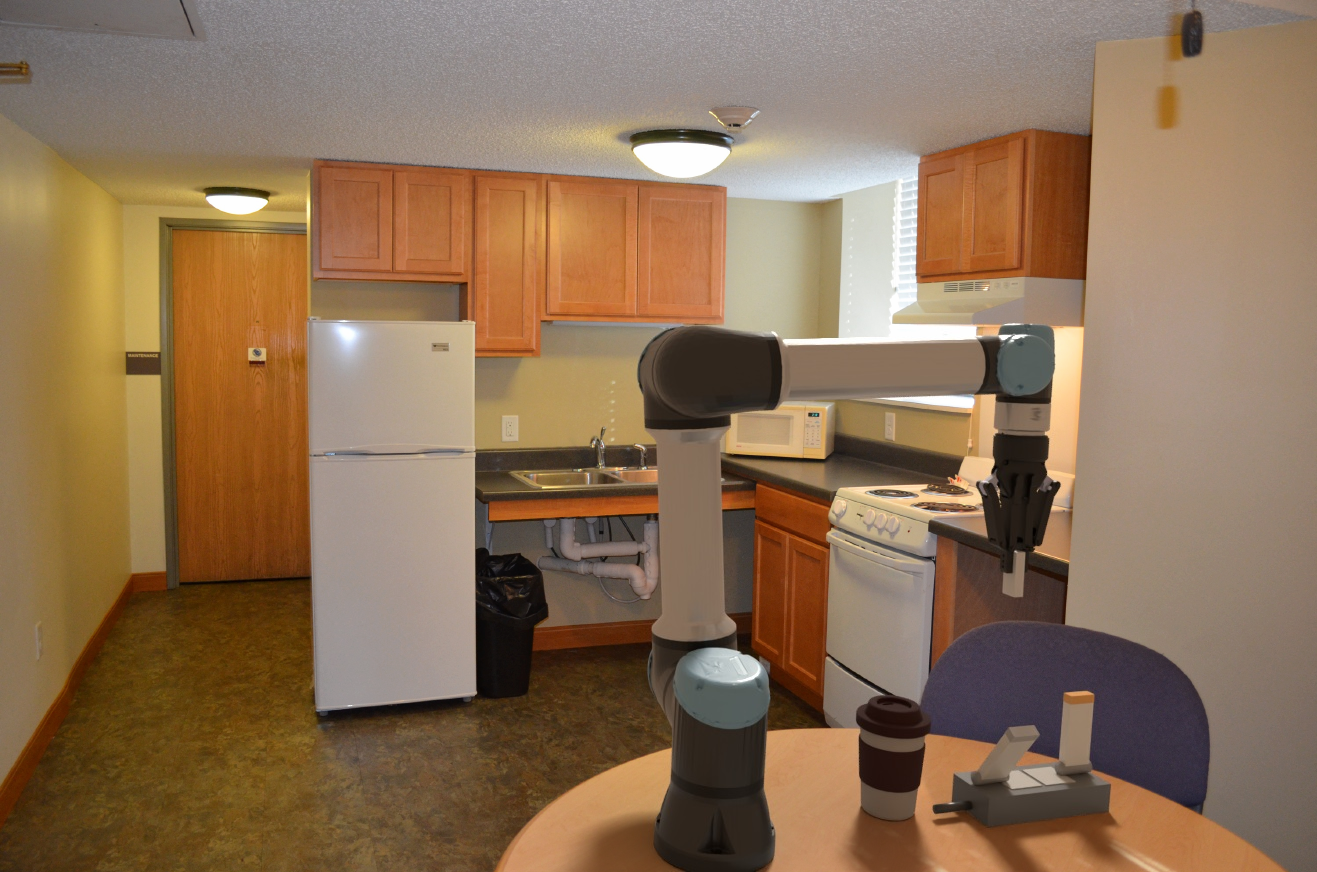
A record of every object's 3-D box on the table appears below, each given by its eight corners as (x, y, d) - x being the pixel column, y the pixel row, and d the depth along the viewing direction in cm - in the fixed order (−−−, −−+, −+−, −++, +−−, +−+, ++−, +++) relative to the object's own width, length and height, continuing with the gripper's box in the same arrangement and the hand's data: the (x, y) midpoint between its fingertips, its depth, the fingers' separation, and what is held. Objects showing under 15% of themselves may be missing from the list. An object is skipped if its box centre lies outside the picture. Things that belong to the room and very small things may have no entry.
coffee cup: (927, 831, 127) (934, 720, 126) (850, 821, 129) (857, 711, 128) (922, 798, 137) (929, 694, 136) (850, 789, 139) (857, 687, 138)
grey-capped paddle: (974, 787, 132) (1011, 738, 125) (968, 775, 134) (1004, 726, 127) (1005, 783, 134) (1043, 735, 127) (999, 772, 135) (1036, 723, 128)
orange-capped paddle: (1062, 777, 136) (1069, 696, 135) (1054, 771, 138) (1060, 692, 137) (1091, 774, 137) (1098, 694, 137) (1082, 768, 139) (1089, 690, 138)
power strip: (951, 831, 127) (954, 801, 127) (917, 804, 135) (919, 775, 134) (1108, 811, 135) (1111, 782, 135) (1068, 786, 143) (1070, 759, 142)
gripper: (998, 434, 133) (989, 603, 135) (1077, 434, 137) (1067, 598, 139) (966, 430, 140) (958, 590, 142) (1042, 430, 144) (1033, 586, 146)
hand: (1012, 594), depth 140 cm, fingers closed
